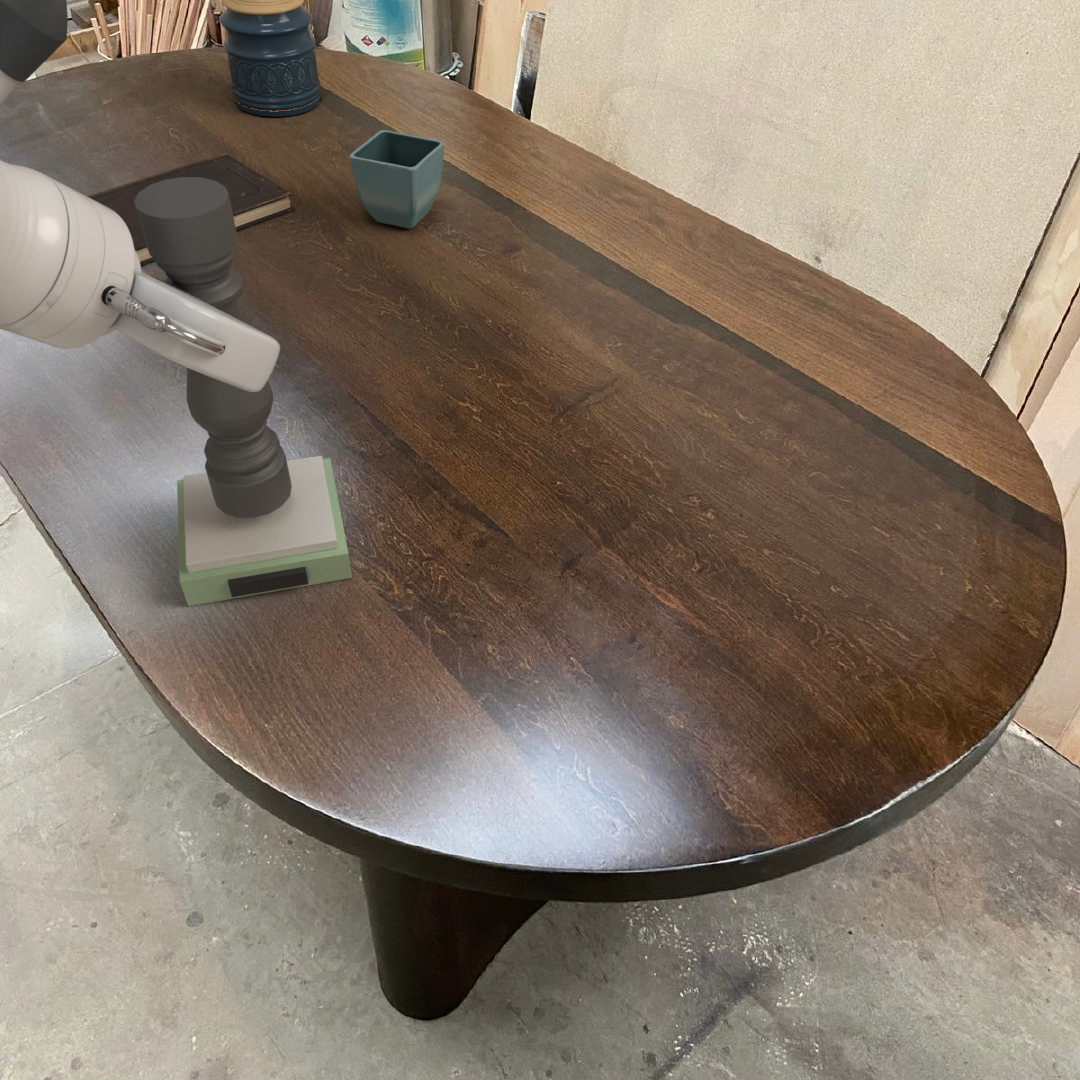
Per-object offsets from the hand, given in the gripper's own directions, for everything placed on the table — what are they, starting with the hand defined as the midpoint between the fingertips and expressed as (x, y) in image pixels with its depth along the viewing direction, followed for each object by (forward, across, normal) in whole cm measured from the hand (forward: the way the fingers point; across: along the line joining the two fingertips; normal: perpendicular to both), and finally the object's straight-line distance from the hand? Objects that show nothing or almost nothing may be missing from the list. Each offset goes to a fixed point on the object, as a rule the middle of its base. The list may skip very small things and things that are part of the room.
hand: (223, 337), depth 68 cm
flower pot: (+49, +29, -21) cm, 61 cm away
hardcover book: (+36, +51, -8) cm, 63 cm away
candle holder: (+10, 0, +11) cm, 15 cm away
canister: (+60, +68, -32) cm, 96 cm away
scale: (+14, 0, +14) cm, 20 cm away
